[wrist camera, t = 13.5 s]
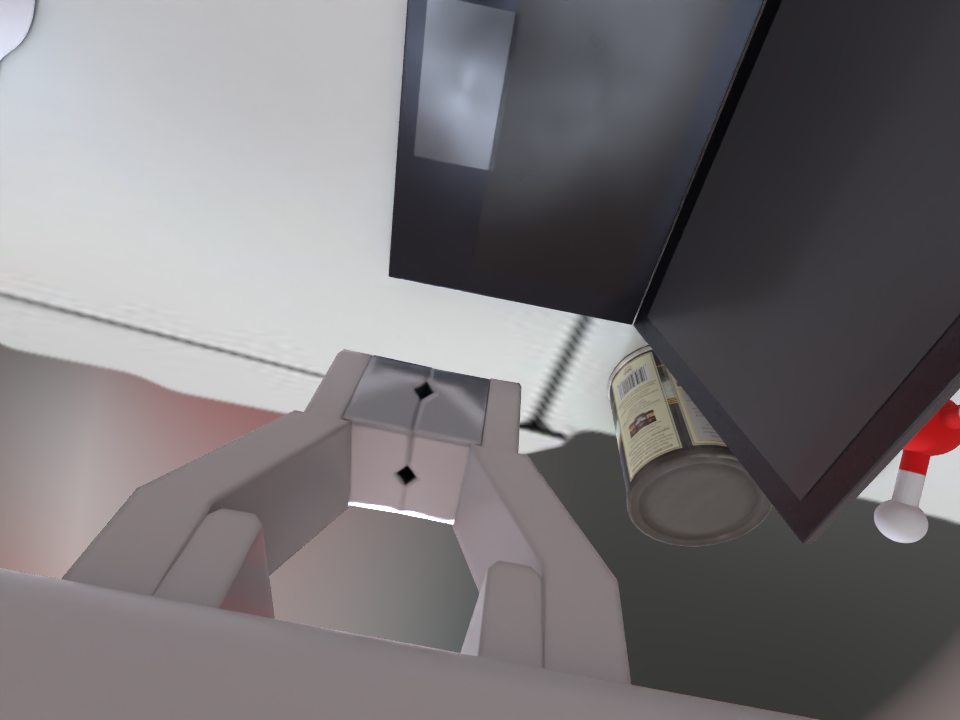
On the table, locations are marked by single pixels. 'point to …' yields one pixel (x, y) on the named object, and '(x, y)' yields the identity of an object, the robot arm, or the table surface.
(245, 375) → the table surface
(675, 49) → the laptop
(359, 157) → the table surface
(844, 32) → the laptop screen
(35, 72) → the table surface
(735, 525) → the coffee can
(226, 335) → the table surface
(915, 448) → the molecular model
